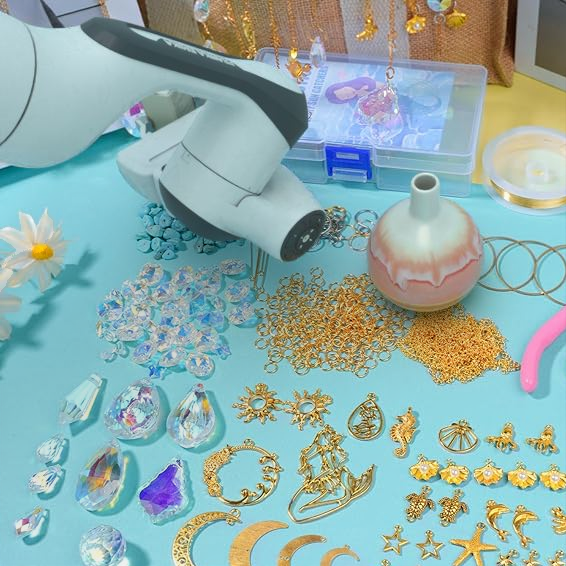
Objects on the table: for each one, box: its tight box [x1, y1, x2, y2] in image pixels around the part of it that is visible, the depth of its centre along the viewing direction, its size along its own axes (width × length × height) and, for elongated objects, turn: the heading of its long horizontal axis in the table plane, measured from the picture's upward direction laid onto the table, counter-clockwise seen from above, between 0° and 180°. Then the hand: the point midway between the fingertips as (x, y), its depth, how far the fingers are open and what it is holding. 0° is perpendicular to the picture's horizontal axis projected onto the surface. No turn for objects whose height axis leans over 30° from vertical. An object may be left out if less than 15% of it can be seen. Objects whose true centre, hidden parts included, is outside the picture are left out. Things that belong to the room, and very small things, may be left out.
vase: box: [365, 171, 485, 313], centre depth 94 cm, size 14×14×18 cm
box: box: [140, 90, 196, 132], centre depth 104 cm, size 5×4×11 cm
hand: (166, 108), depth 105 cm, fingers closed on box, 6 cm apart
